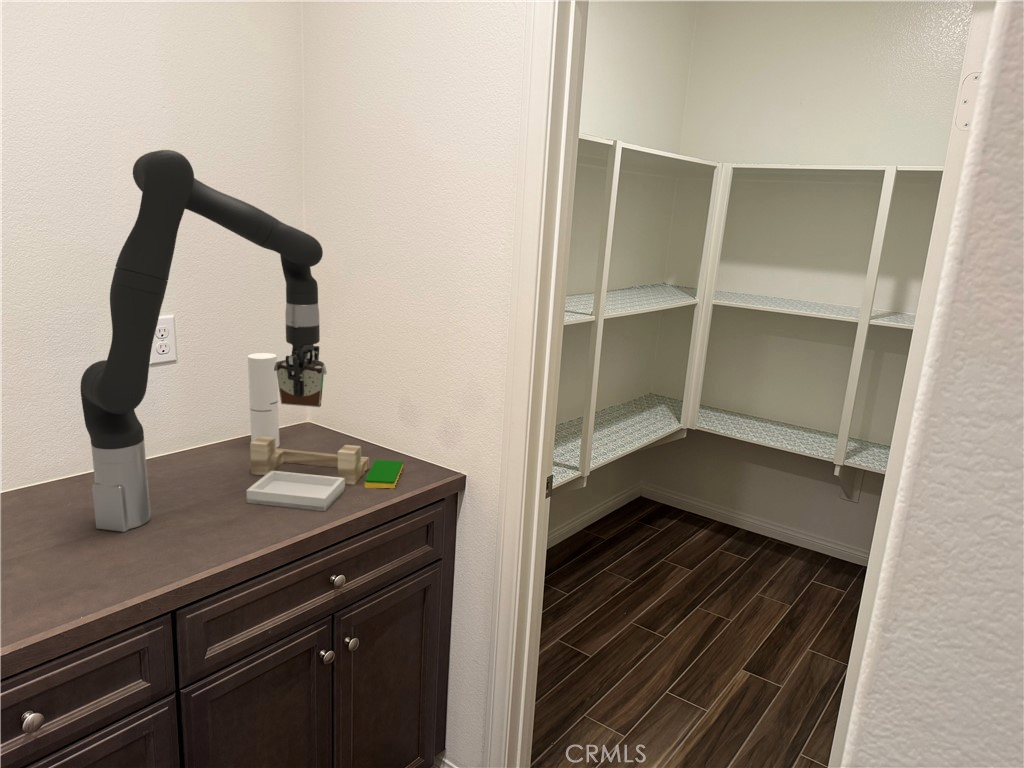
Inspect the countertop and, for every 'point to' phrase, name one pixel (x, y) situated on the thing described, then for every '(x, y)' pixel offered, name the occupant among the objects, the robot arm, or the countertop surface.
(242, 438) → the countertop surface
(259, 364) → the cylindrical container
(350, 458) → the holder
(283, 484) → the tray
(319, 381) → the food container
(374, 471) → the dish sponge
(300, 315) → the robot arm
